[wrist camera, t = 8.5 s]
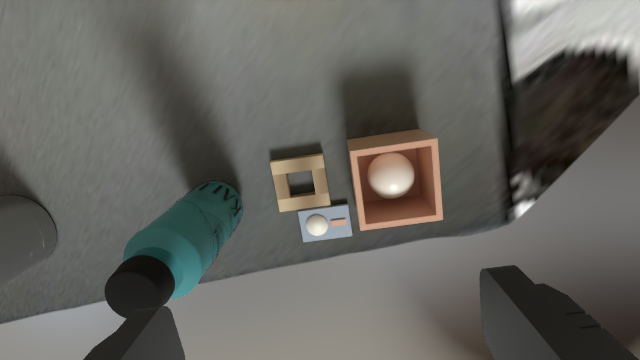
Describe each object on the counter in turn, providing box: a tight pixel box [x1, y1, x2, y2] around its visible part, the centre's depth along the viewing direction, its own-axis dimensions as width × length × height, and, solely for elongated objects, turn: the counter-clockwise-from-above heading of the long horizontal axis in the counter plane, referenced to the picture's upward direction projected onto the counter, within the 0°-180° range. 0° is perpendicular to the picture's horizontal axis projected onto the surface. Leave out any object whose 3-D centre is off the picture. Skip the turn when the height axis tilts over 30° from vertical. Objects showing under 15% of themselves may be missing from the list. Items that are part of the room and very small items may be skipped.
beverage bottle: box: [105, 181, 243, 318], centre depth 33 cm, size 6×7×20 cm
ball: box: [367, 152, 415, 199], centre depth 38 cm, size 5×5×5 cm
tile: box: [298, 203, 352, 242], centre depth 42 cm, size 6×4×1 cm, turn 99°
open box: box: [347, 129, 443, 231], centre depth 37 cm, size 8×8×7 cm
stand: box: [270, 153, 330, 212], centre depth 41 cm, size 6×6×1 cm
